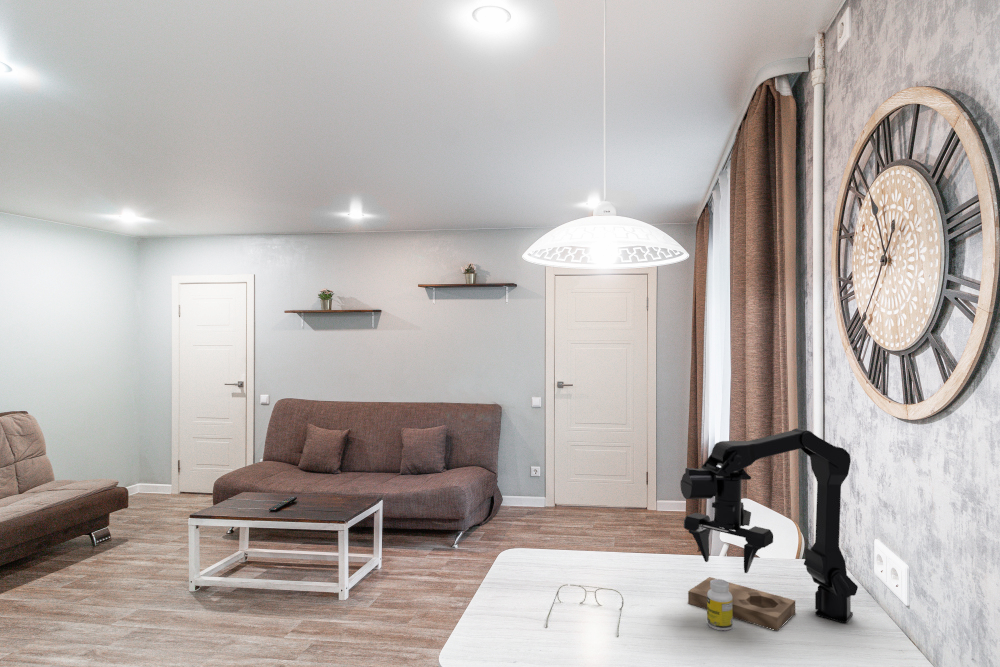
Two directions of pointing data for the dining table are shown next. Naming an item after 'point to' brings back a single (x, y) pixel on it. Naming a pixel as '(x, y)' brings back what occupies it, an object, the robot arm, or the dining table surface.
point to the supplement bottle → (719, 605)
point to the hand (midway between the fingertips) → (726, 566)
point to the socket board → (749, 604)
